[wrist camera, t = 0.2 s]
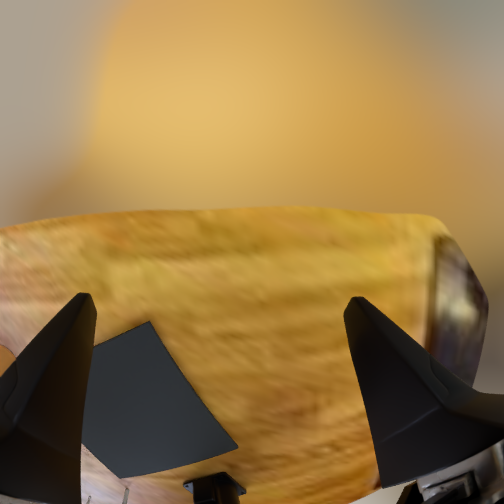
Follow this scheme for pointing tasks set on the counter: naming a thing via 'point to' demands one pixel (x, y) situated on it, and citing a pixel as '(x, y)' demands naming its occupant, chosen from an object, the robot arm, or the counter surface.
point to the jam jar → (5, 359)
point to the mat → (145, 409)
